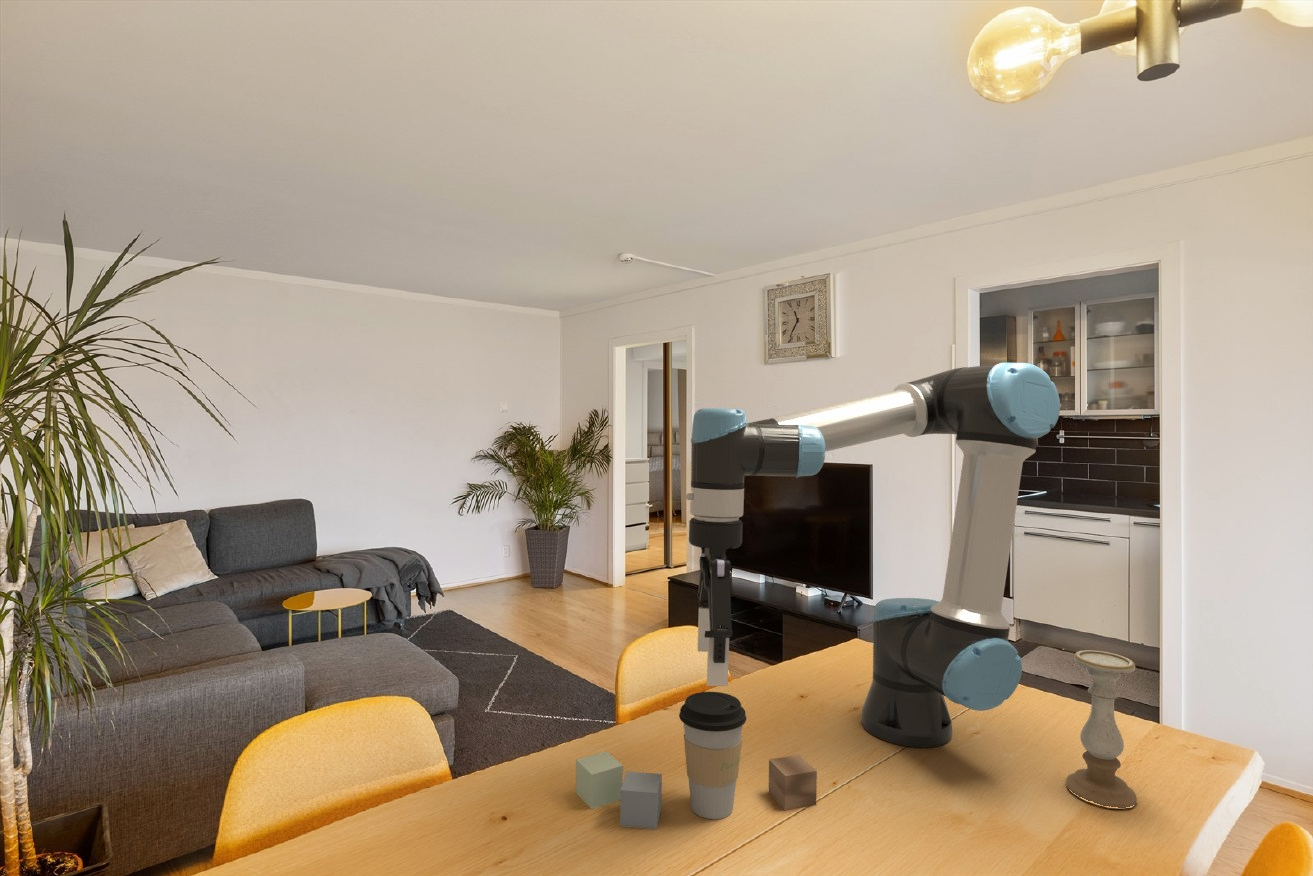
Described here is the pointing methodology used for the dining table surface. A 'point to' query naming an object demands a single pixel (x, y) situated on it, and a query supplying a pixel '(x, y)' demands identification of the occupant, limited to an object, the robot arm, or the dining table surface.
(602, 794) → the sage cube
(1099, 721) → the candle holder
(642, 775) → the slate cube
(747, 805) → the dining table surface
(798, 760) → the walnut cube
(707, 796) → the coffee cup
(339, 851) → the dining table surface
